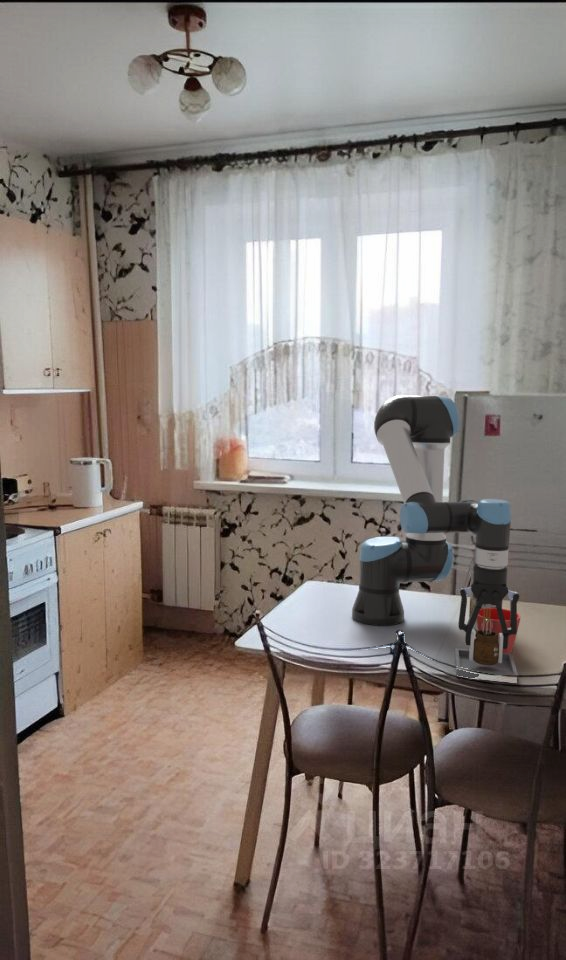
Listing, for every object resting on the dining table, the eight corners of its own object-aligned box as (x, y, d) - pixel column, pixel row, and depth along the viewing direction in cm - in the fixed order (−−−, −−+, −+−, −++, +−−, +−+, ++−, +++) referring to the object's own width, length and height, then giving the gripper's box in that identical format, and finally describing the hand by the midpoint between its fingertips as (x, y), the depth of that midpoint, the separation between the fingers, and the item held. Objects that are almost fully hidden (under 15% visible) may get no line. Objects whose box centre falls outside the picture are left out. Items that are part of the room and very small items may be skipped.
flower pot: (470, 641, 186) (473, 606, 184) (513, 643, 185) (515, 608, 183) (477, 656, 175) (480, 619, 174) (522, 659, 174) (525, 621, 173)
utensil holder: (472, 664, 164) (475, 615, 163) (471, 654, 170) (474, 607, 169) (499, 667, 163) (502, 617, 161) (496, 657, 169) (499, 609, 167)
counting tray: (456, 677, 162) (456, 669, 161) (454, 656, 175) (455, 648, 175) (517, 684, 159) (518, 675, 159) (511, 661, 172) (511, 653, 172)
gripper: (450, 566, 162) (445, 661, 165) (535, 572, 158) (528, 669, 161) (449, 558, 169) (444, 650, 172) (530, 564, 165) (524, 657, 168)
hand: (485, 659), depth 167 cm, fingers closed on utensil holder, 6 cm apart
